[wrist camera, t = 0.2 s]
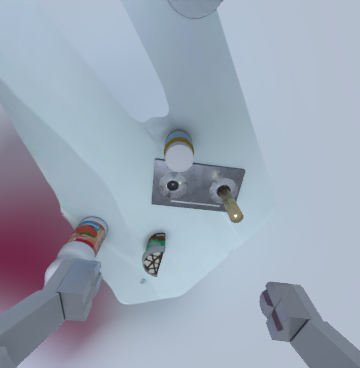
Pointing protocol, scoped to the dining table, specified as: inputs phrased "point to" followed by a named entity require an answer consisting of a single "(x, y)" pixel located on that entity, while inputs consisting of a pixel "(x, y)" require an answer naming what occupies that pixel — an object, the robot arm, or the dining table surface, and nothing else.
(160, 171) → the gauge plate
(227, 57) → the dining table surface
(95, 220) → the fruit juice
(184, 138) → the bottle
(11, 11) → the dining table surface
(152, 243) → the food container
